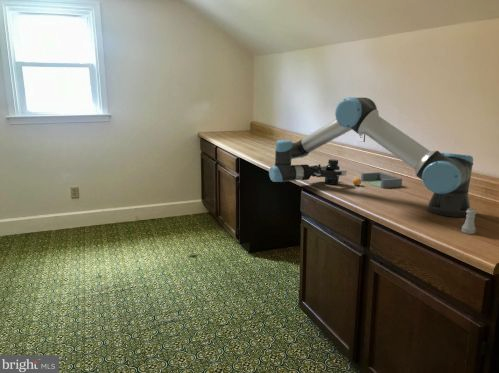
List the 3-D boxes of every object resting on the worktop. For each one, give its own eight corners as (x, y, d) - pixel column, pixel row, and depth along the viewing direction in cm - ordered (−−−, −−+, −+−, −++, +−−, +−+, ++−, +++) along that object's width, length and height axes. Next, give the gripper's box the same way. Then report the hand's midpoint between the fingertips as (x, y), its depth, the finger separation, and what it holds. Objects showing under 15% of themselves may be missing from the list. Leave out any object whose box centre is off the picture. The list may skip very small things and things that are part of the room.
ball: (360, 186, 200) (360, 178, 199) (351, 185, 202) (352, 177, 201) (361, 185, 204) (362, 177, 203) (353, 184, 205) (353, 176, 205)
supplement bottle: (331, 185, 201) (332, 161, 198) (321, 182, 206) (323, 159, 204) (341, 184, 204) (343, 160, 202) (331, 181, 210) (333, 158, 207)
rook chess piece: (458, 229, 141) (462, 207, 139) (472, 230, 140) (475, 207, 139) (463, 233, 137) (467, 210, 135) (477, 234, 136) (481, 211, 134)
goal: (382, 188, 199) (383, 180, 198) (360, 180, 214) (361, 173, 213) (401, 186, 203) (402, 178, 202) (378, 179, 218) (379, 172, 217)
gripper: (288, 175, 209) (325, 173, 217) (312, 185, 187) (352, 182, 196) (289, 160, 207) (326, 159, 215) (313, 169, 186) (353, 167, 194)
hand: (339, 170), depth 205 cm, fingers open, 11 cm apart
